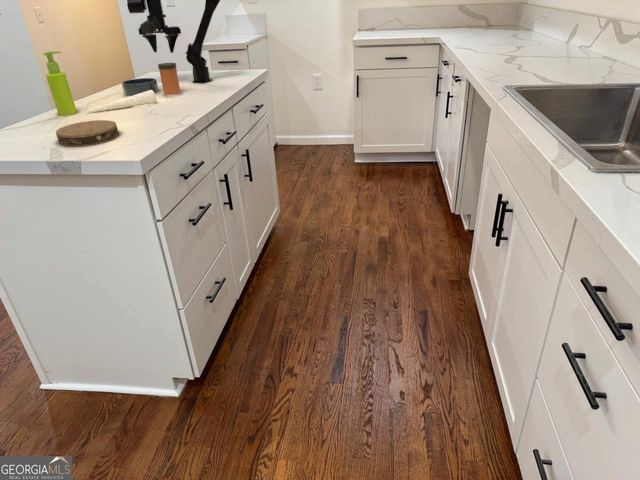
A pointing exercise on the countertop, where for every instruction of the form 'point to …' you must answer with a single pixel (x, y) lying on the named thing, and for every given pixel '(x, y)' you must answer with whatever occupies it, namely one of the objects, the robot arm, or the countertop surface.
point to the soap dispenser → (59, 87)
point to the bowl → (139, 86)
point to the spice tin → (169, 78)
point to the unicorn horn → (129, 101)
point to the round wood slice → (87, 133)
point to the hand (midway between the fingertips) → (163, 52)
